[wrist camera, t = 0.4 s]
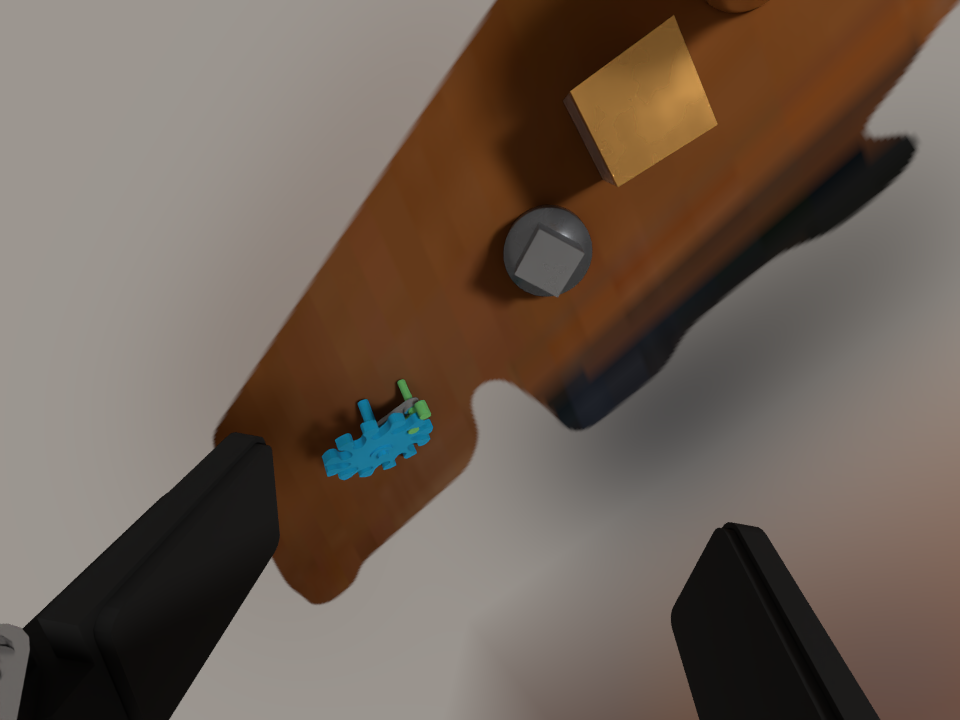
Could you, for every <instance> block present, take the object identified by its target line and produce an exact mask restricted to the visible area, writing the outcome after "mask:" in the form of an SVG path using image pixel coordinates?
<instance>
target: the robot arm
mask: <svg viewBox="0 0 960 720" xmlns="http://www.w3.org/2000/svg"><path fill="white" fill-rule="evenodd" d="M279 537H280V533H279V522H278V511H277V500H276V489H275V478H274V467H273V456H272V449H271V447H270V446H268V445H266V444H265V440H264V439H263V438H262V437H258V436H253V435H247V434H242V433H236V432H235V433H231V434H230V435H228V436H227V437H226V438H225V439H224V440H223V441H222V442H221V443H220V444H219V445H218V446H217V447H216V448H215V449H214V450H212V451H211V452H210V453H209V454H208V455H207V456H206V457H205V458H204V459H203V460H202V461H201V462H200V463H199V464H198V465H197V466H196V467H195V468H194V469H193V470H191V471H190V472H189V473H188V474H187V475H186V476H185V477H184V478H183V479H182V480H181V481H180V482H179V483H178V484H177V485H176V486H175V487H174V488H173V489H171V490H170V491H169V492H168V493H166V494H165V495H164V496H163V497H161V498H160V499H159V500H158V501H157V502H156V503H155V504H154V505H153V506H152V507H151V508H149V509H148V510H147V511H146V512H145V513H144V514H143V515H142V516H141V517H140V518H139V519H138V520H137V521H136V522H135V523H134V524H133V525H131V526H130V527H129V528H128V530H126V531H125V532H124V533H123V534H122V535H121V536H120V537H119V538H118V539H117V540H116V541H115V542H114V543H112V544H111V545H110V546H109V547H108V548H107V549H106V550H105V551H104V552H103V553H102V554H101V555H100V556H99V557H98V558H97V559H96V560H95V561H94V562H93V563H91V564H90V565H89V566H88V567H87V568H86V569H85V570H84V571H83V572H82V573H81V574H80V575H79V576H78V577H77V578H76V579H74V580H73V581H72V582H71V583H70V584H69V585H68V586H67V587H66V588H65V589H64V590H63V591H62V592H61V593H60V594H59V595H58V596H57V597H55V598H54V599H53V600H52V601H51V602H50V603H49V604H48V605H47V606H46V607H45V608H44V609H43V610H42V611H41V612H40V613H39V614H38V615H36V616H35V617H34V618H33V619H32V620H31V621H30V622H29V623H28V624H27V625H26V626H25V627H24V628H23V629H22V628H20V627H17V626H13V625H10V624H0V720H169V719H170V717H171V716H172V714H173V712H174V711H175V709H176V707H177V706H178V704H179V703H180V701H181V700H182V698H183V697H184V695H185V693H186V692H187V690H188V689H189V687H190V686H191V684H192V682H193V681H194V679H195V677H196V676H197V674H198V673H199V671H200V670H201V668H202V667H203V665H204V663H205V662H206V660H207V659H208V657H209V655H210V654H211V652H212V651H213V649H214V647H215V646H216V644H217V643H218V641H219V640H220V638H221V636H222V635H223V633H224V632H225V630H226V628H227V627H228V625H229V624H230V622H231V621H232V619H233V617H234V616H235V614H236V613H237V611H238V609H239V608H240V606H241V604H242V603H243V601H244V600H245V598H246V597H247V595H248V594H249V592H250V590H251V589H252V587H253V586H254V584H255V583H256V581H257V579H258V578H259V576H260V575H261V573H262V571H263V570H264V568H265V566H266V565H267V563H268V562H269V560H270V559H271V557H272V556H273V554H274V552H275V550H276V548H277V546H278V542H279ZM671 625H672V630H673V633H674V636H675V640H676V643H677V646H678V650H679V653H680V656H681V660H682V663H683V666H684V670H685V673H686V676H687V679H688V683H689V687H690V690H691V693H692V697H693V700H694V703H695V706H696V710H697V713H698V717H699V720H880V719H879V717H878V715H877V714H876V712H875V710H874V709H873V707H872V705H871V704H870V703H869V701H868V699H867V697H866V696H865V694H864V693H863V691H862V690H861V688H860V686H859V685H858V683H857V681H856V680H855V678H854V676H853V675H852V673H851V671H850V670H849V668H848V667H847V665H846V663H845V662H844V660H843V658H842V657H841V655H840V654H839V652H838V650H837V649H836V647H835V646H834V644H833V642H832V641H831V639H830V637H829V636H828V634H827V633H826V631H825V629H824V628H823V626H822V624H821V623H820V621H819V620H818V618H817V616H816V615H815V613H814V611H813V610H812V608H811V606H810V605H809V603H808V602H807V600H806V599H805V597H804V595H803V594H802V592H801V590H800V589H799V587H798V585H797V584H796V582H795V581H794V579H793V577H792V576H791V574H790V572H789V571H788V569H787V568H786V566H785V564H784V563H783V561H782V560H781V558H780V556H779V555H778V553H777V551H776V550H775V548H774V546H773V545H772V543H771V542H770V540H769V538H768V537H767V535H766V534H765V532H763V530H762V529H760V528H759V527H754V526H748V525H743V524H737V523H732V522H731V523H730V522H728V523H726V524H725V525H724V526H723V527H722V528H717V529H716V530H715V531H714V532H713V534H712V536H711V538H710V540H709V542H708V543H707V545H706V547H705V549H704V551H703V553H702V555H701V556H700V558H699V561H698V562H697V564H696V566H695V568H694V570H693V572H692V573H691V575H690V577H689V579H688V581H687V583H686V584H685V586H684V588H683V590H682V592H681V594H680V596H679V597H678V599H677V601H676V603H675V605H674V607H673V609H672V613H671Z"/></svg>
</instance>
